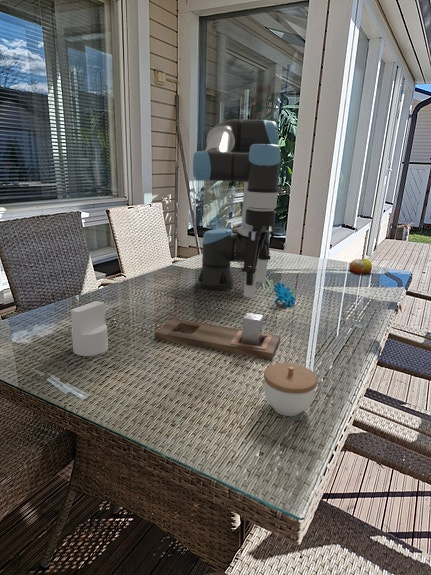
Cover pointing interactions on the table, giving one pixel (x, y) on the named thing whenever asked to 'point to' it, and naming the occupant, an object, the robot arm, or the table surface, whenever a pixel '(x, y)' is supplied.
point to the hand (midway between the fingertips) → (255, 289)
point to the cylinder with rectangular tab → (89, 329)
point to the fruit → (360, 266)
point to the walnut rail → (217, 338)
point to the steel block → (252, 329)
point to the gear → (284, 294)
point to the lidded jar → (289, 388)
